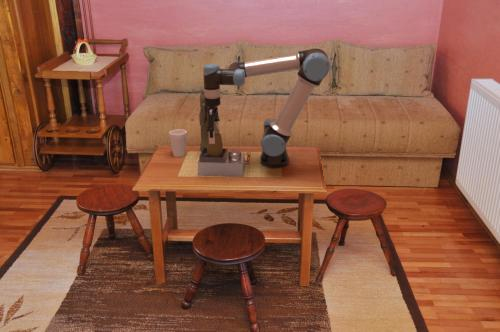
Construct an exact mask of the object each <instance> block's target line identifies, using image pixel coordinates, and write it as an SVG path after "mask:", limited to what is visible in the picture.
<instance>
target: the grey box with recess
mask: <svg viewBox="0 0 500 332" xmlns="http://www.w3.org/2000/svg"><path fill="white" fill-rule="evenodd" d="M245 168H246V153H245V152H242V151H241V150H237V149H232V150H229V148H224V147H223V152H222V155H221V157H209V155H208V152H207V148H203V150H202V152H201V151H200V153H199V157H198V161H197V175H198V176H211V177H212V176H213V177H232V178H233V177H237V178H238V177H239V178H242V177H243V176H244V172H245Z"/></svg>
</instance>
